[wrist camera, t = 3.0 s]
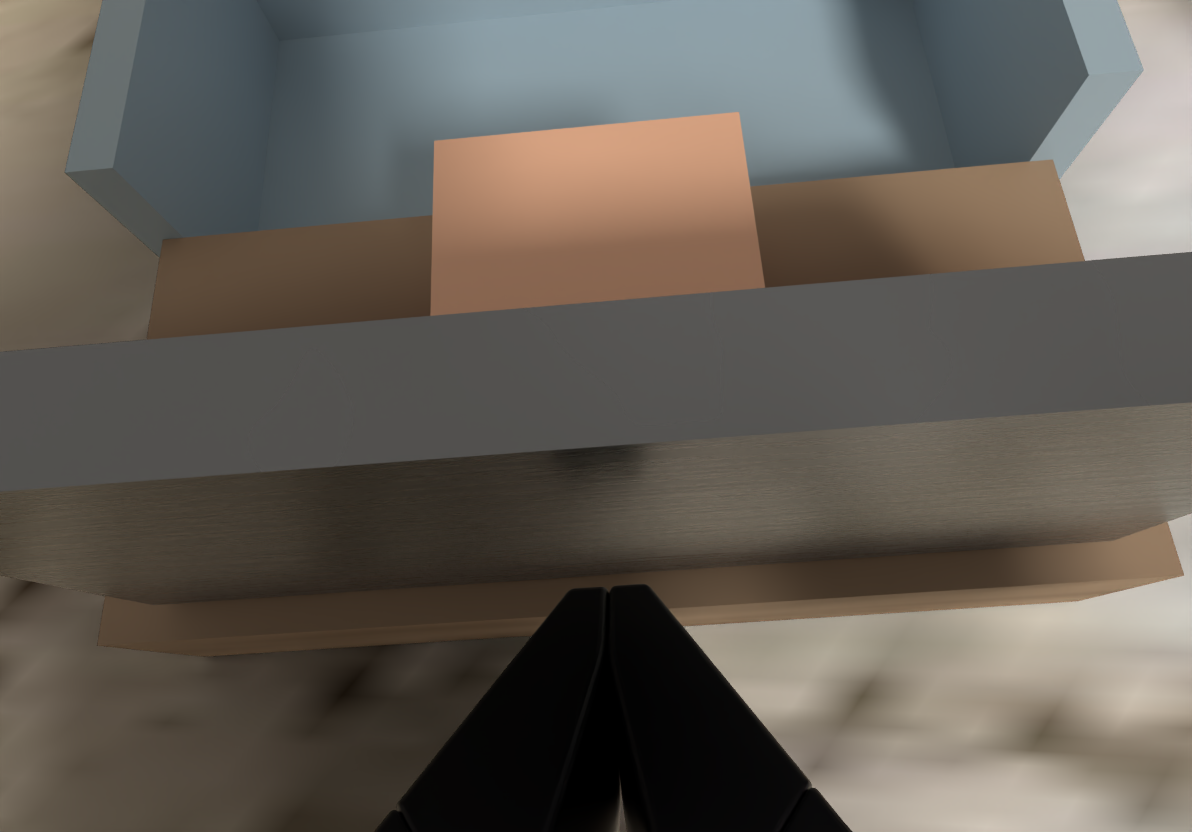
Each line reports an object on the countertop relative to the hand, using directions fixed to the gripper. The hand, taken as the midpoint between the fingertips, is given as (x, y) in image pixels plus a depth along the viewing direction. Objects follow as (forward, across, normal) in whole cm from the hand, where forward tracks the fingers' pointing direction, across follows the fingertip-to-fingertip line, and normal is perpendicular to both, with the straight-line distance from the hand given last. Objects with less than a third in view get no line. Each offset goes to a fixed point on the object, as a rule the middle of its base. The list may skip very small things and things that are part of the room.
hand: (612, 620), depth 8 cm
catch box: (+12, 0, -4) cm, 13 cm away
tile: (+6, 0, -2) cm, 6 cm away
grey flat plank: (+3, 0, +1) cm, 3 cm away
